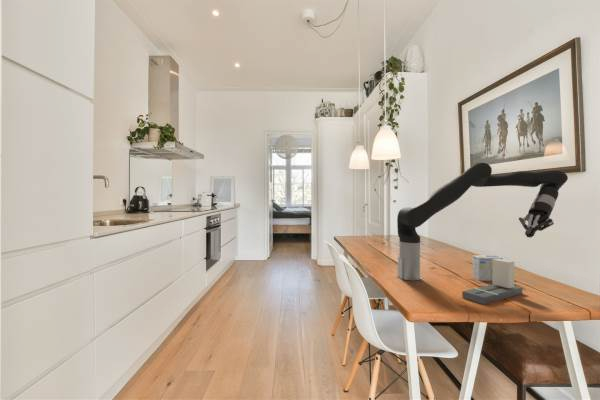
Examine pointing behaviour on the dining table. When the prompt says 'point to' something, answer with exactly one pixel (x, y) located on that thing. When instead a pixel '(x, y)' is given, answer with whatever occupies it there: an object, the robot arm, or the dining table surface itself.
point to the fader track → (490, 293)
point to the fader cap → (503, 273)
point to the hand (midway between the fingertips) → (528, 236)
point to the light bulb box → (483, 267)
